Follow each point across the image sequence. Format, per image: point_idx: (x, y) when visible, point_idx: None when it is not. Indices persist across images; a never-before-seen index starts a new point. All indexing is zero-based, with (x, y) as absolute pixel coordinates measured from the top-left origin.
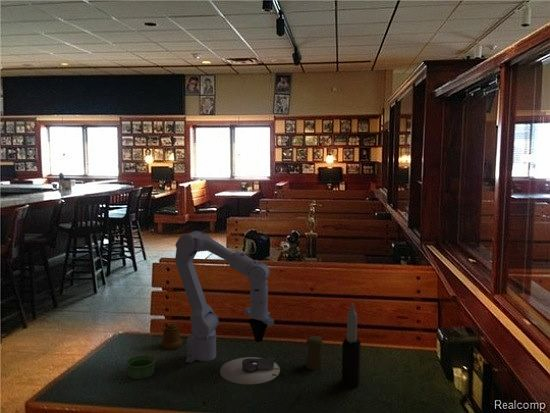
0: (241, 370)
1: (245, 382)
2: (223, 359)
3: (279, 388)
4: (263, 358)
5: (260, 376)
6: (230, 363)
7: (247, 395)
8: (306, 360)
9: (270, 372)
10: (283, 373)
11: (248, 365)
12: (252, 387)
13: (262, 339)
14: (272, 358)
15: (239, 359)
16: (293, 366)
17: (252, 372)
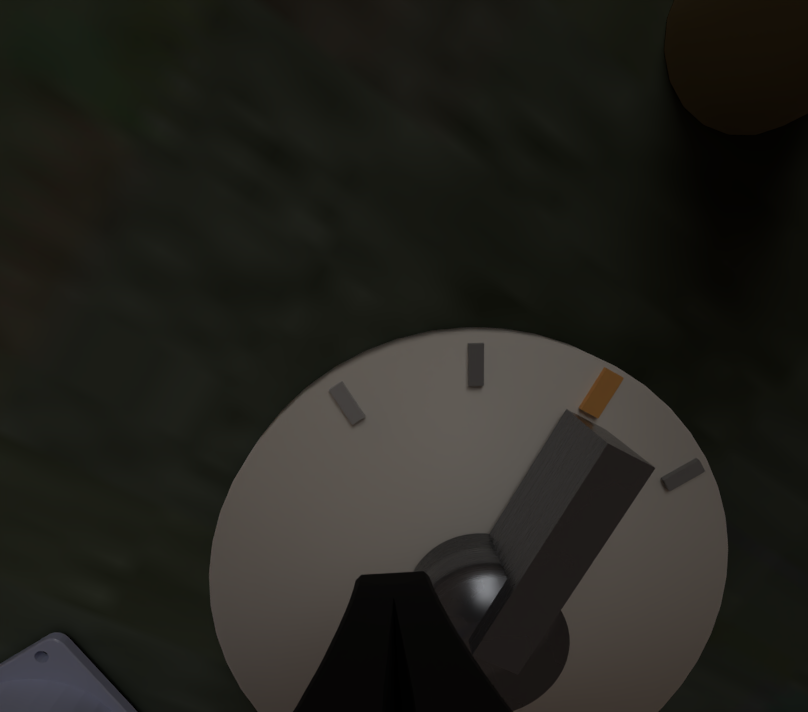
0: None
1: (635, 706)
2: (95, 619)
3: (784, 492)
4: (552, 539)
5: (628, 577)
6: (272, 668)
7: (712, 705)
8: (775, 64)
9: None
10: (616, 330)
11: (544, 686)
12: None
13: (434, 590)
14: (614, 459)
15: (234, 574)
16: (563, 164)
17: None
